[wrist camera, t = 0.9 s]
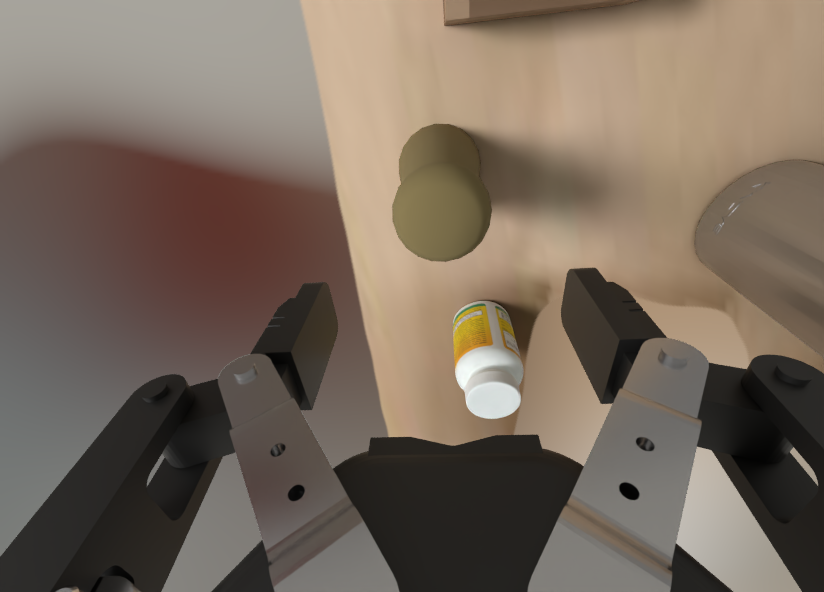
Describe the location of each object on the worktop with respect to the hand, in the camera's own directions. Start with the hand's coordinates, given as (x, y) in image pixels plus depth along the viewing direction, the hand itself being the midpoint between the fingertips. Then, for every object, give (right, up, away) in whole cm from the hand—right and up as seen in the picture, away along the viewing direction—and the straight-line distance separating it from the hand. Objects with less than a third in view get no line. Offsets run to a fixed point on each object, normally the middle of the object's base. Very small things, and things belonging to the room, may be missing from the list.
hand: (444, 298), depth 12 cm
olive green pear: (+1, +10, +15) cm, 18 cm away
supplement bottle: (+5, -2, +22) cm, 23 cm away
